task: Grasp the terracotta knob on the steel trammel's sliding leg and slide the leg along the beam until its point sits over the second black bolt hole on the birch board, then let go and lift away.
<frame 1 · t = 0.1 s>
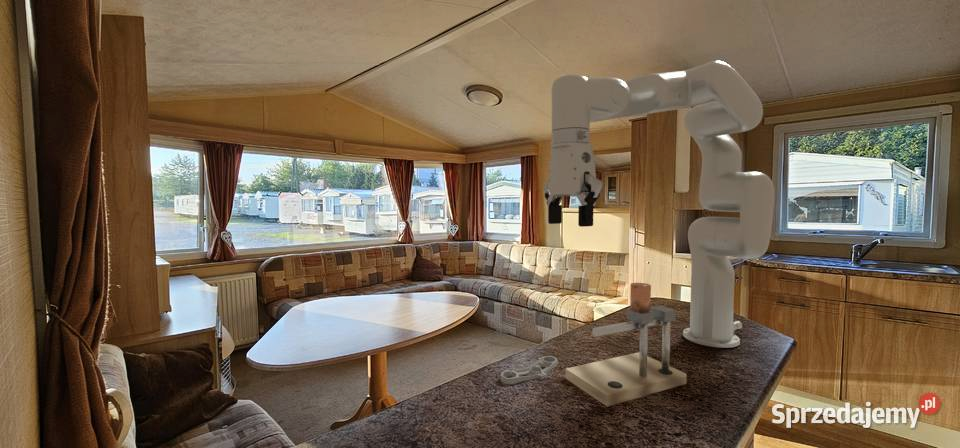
hand: (569, 224, 80), 31 cm above the countertop, fingers open, 9 cm apart
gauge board: (624, 380, 78), on the countertop
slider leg: (639, 329, 75), point 11 cm above the countertop, slide at 0.0 cm
bracket: (531, 375, 82), on the countertop
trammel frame: (634, 345, 75), on the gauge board, point 8 cm above the countertop
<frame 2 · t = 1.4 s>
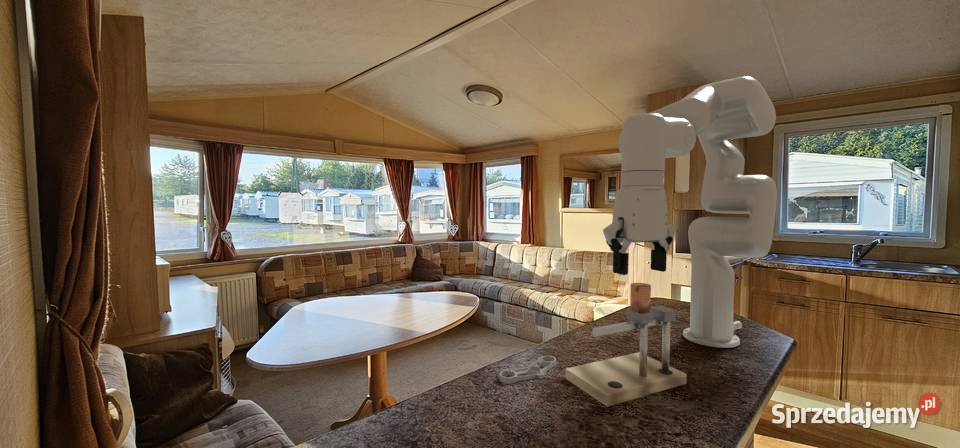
hand: (639, 272, 74), 22 cm above the countertop, fingers open, 9 cm apart
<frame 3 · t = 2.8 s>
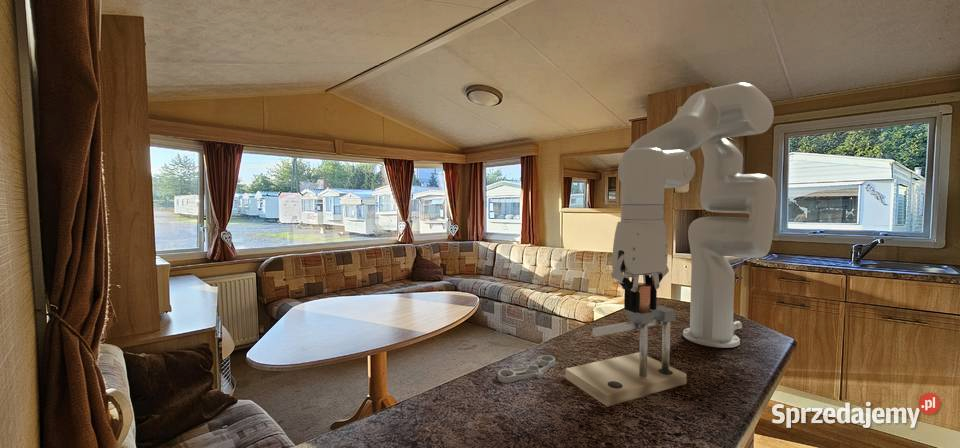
hand: (640, 308, 75), 15 cm above the countertop, fingers closed on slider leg, 3 cm apart
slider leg: (639, 329, 75), point 11 cm above the countertop, slide at 0.0 cm, touching gripper
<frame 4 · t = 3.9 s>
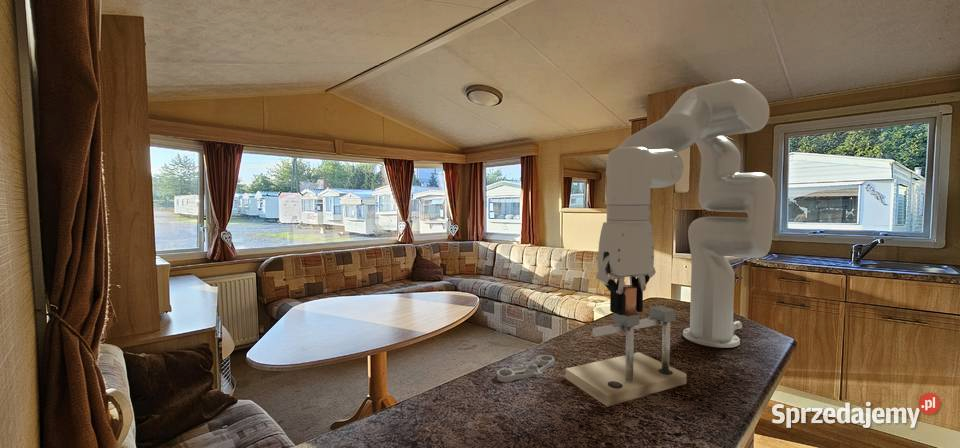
hand: (626, 310, 73), 15 cm above the countertop, fingers closed on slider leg, 3 cm apart
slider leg: (625, 332, 74), point 11 cm above the countertop, slide at 3.5 cm, touching gripper
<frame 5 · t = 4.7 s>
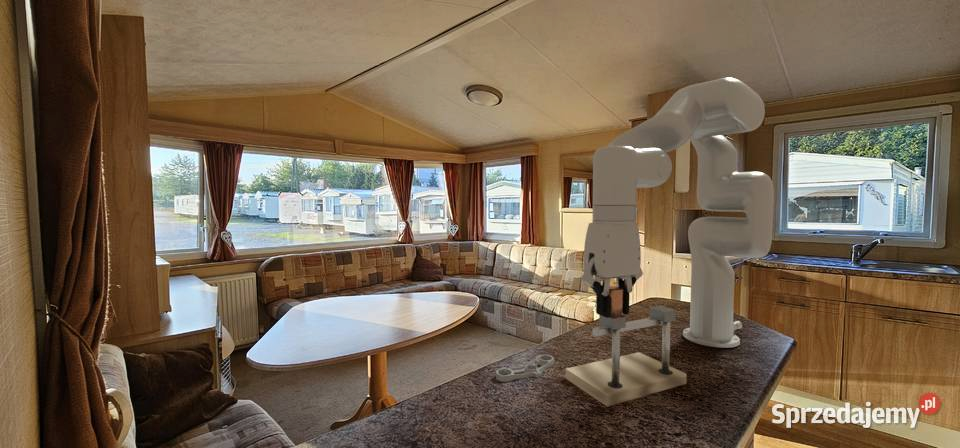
hand: (612, 313, 72), 15 cm above the countertop, fingers closed on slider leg, 3 cm apart
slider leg: (612, 334, 72), point 11 cm above the countertop, slide at 6.9 cm, touching gripper
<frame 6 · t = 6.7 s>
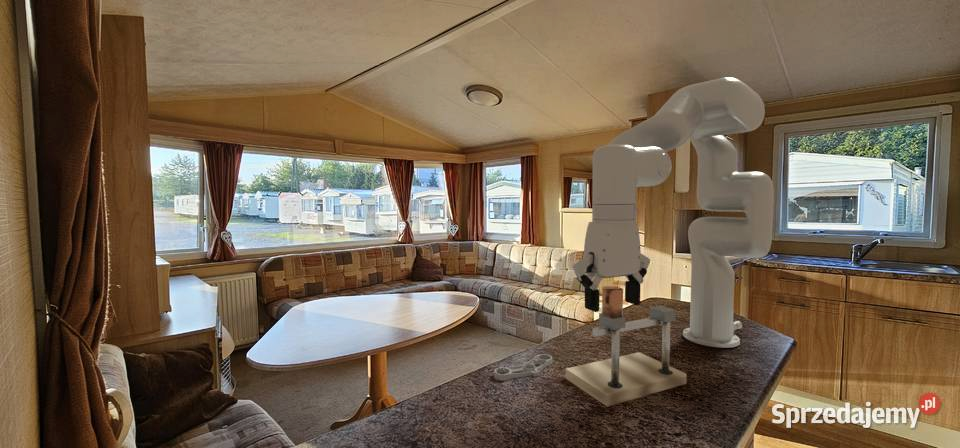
hand: (612, 306, 72), 16 cm above the countertop, fingers open, 9 cm apart
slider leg: (611, 334, 72), point 11 cm above the countertop, slide at 7.0 cm
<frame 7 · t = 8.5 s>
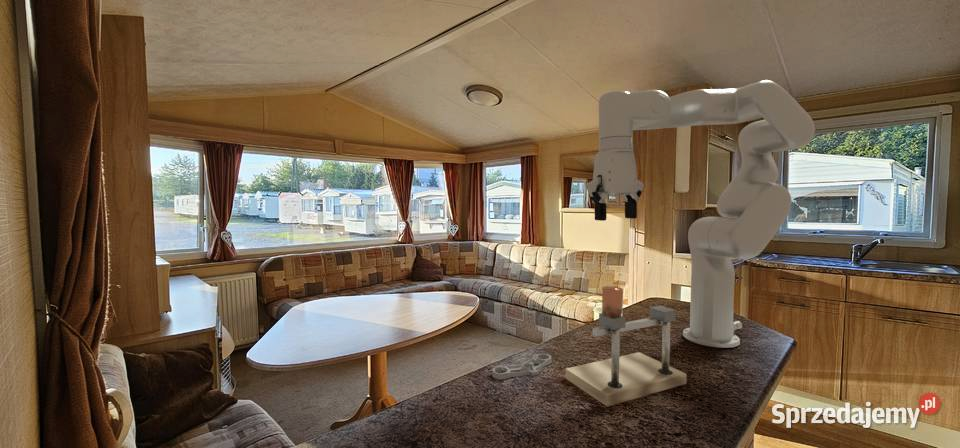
hand: (616, 219, 93), 32 cm above the countertop, fingers open, 9 cm apart
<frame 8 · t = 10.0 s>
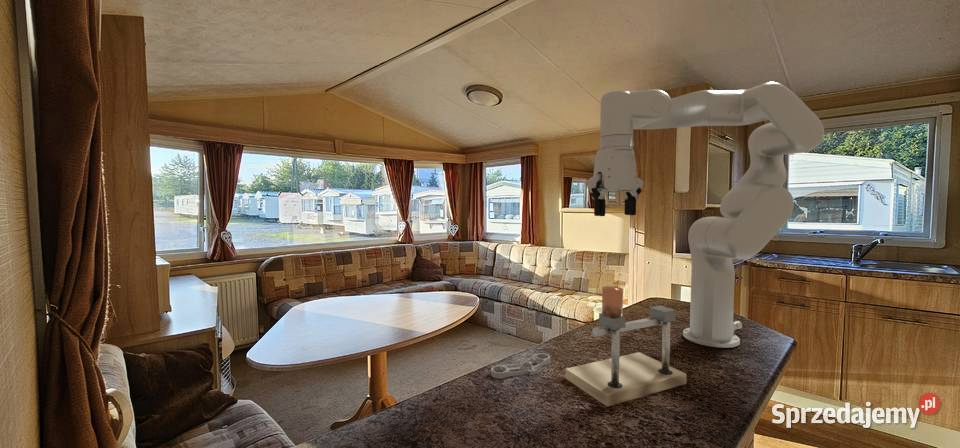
hand: (615, 215, 95), 32 cm above the countertop, fingers open, 9 cm apart
at the end: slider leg slide at 7.0 cm; the gripper is holding nothing; bracket moved 2.8 cm from its start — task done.
